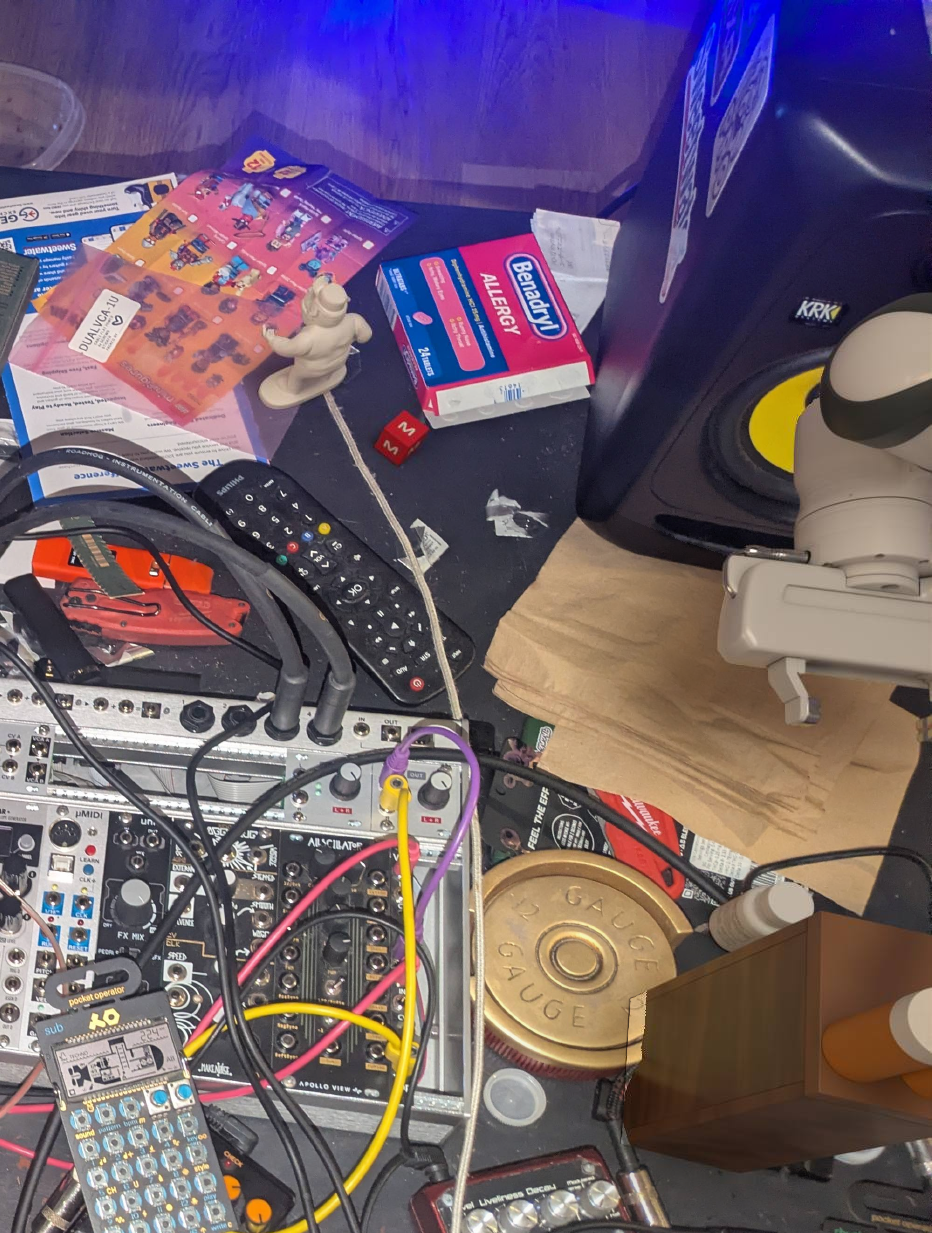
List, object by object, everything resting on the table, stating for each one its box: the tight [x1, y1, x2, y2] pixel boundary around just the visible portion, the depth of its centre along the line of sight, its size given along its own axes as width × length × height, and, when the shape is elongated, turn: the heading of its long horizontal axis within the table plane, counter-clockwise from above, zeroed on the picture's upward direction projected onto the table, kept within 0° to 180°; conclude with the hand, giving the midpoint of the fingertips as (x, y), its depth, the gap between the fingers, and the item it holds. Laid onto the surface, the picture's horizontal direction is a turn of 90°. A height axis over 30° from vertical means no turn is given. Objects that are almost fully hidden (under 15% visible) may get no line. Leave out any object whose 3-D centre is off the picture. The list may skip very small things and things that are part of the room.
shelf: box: [804, 910, 932, 1126], centre depth 85 cm, size 9×12×2 cm
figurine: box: [257, 274, 373, 411], centre depth 128 cm, size 9×7×12 cm
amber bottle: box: [822, 988, 932, 1083], centre depth 80 cm, size 4×4×8 cm
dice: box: [373, 409, 430, 467], centre depth 128 cm, size 3×3×3 cm
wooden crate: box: [621, 917, 932, 1174], centre depth 97 cm, size 9×12×24 cm
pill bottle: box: [708, 881, 815, 953], centre depth 108 cm, size 4×4×8 cm
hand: (869, 733), depth 99 cm, fingers open, 8 cm apart
